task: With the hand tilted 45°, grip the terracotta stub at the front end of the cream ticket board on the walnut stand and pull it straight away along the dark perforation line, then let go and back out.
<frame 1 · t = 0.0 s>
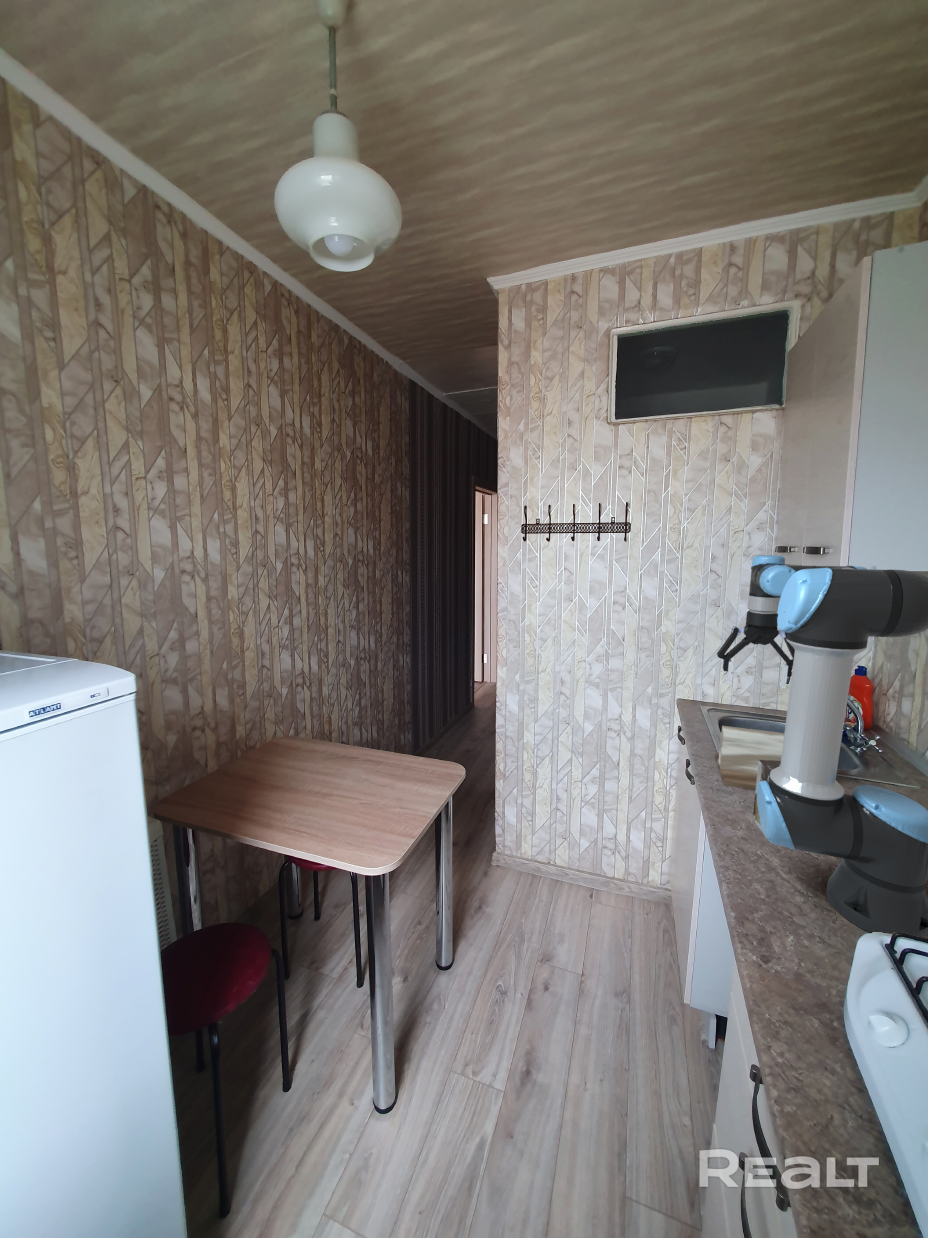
hand: (754, 684, 135), 28 cm above the worktop, tool pointing down, fingers open, 13 cm apart
coffee box: (773, 830, 114), on the worktop
ticket stand: (768, 777, 138), on the worktop
ticket stub: (802, 756, 134), point 8 cm above the worktop, slide at 0.0 cm
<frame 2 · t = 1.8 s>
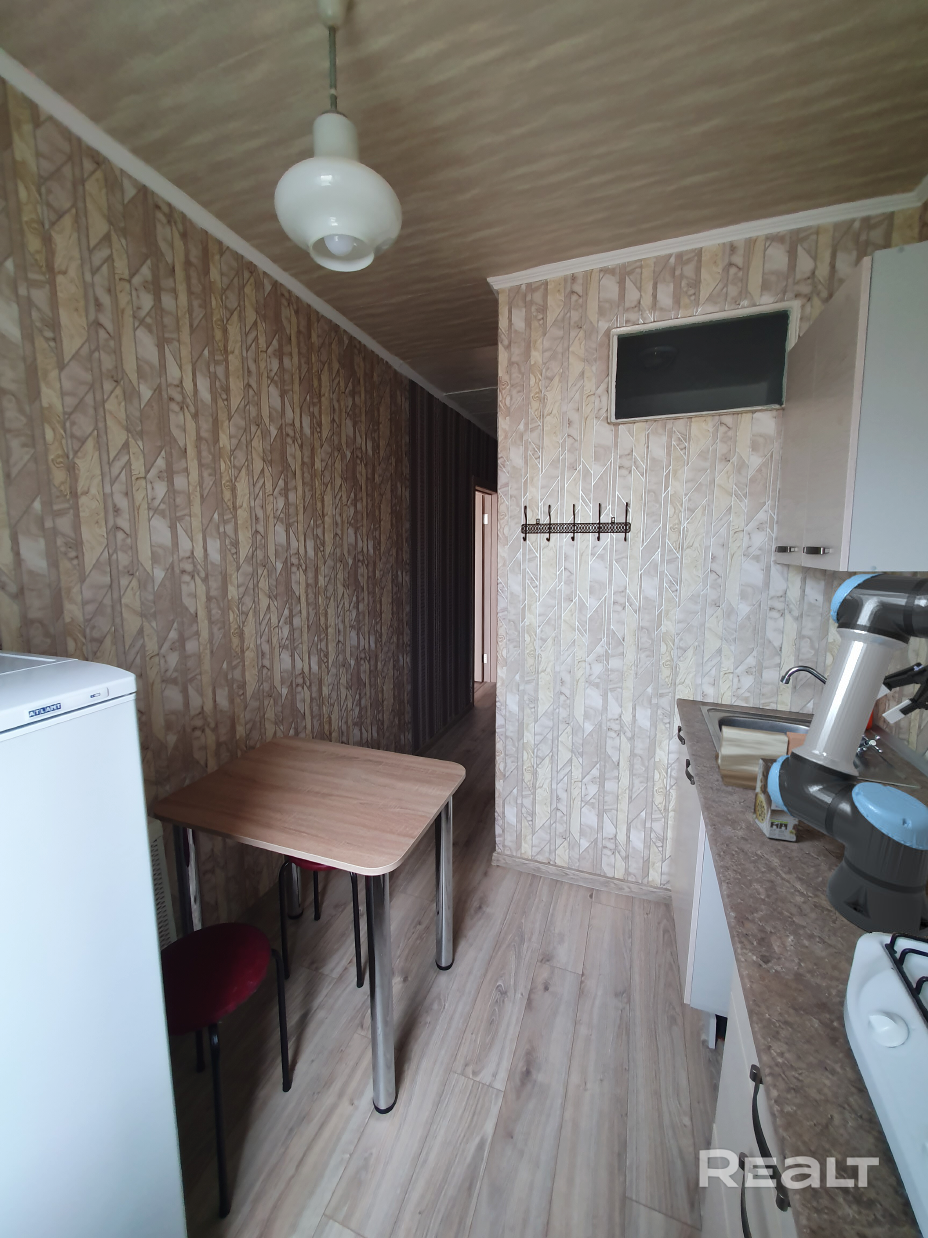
hand: (874, 710, 127), 24 cm above the worktop, tool tilted 45°, fingers open, 13 cm apart
coffee box: (773, 829, 114), on the worktop, touching arm
everything else where it was.
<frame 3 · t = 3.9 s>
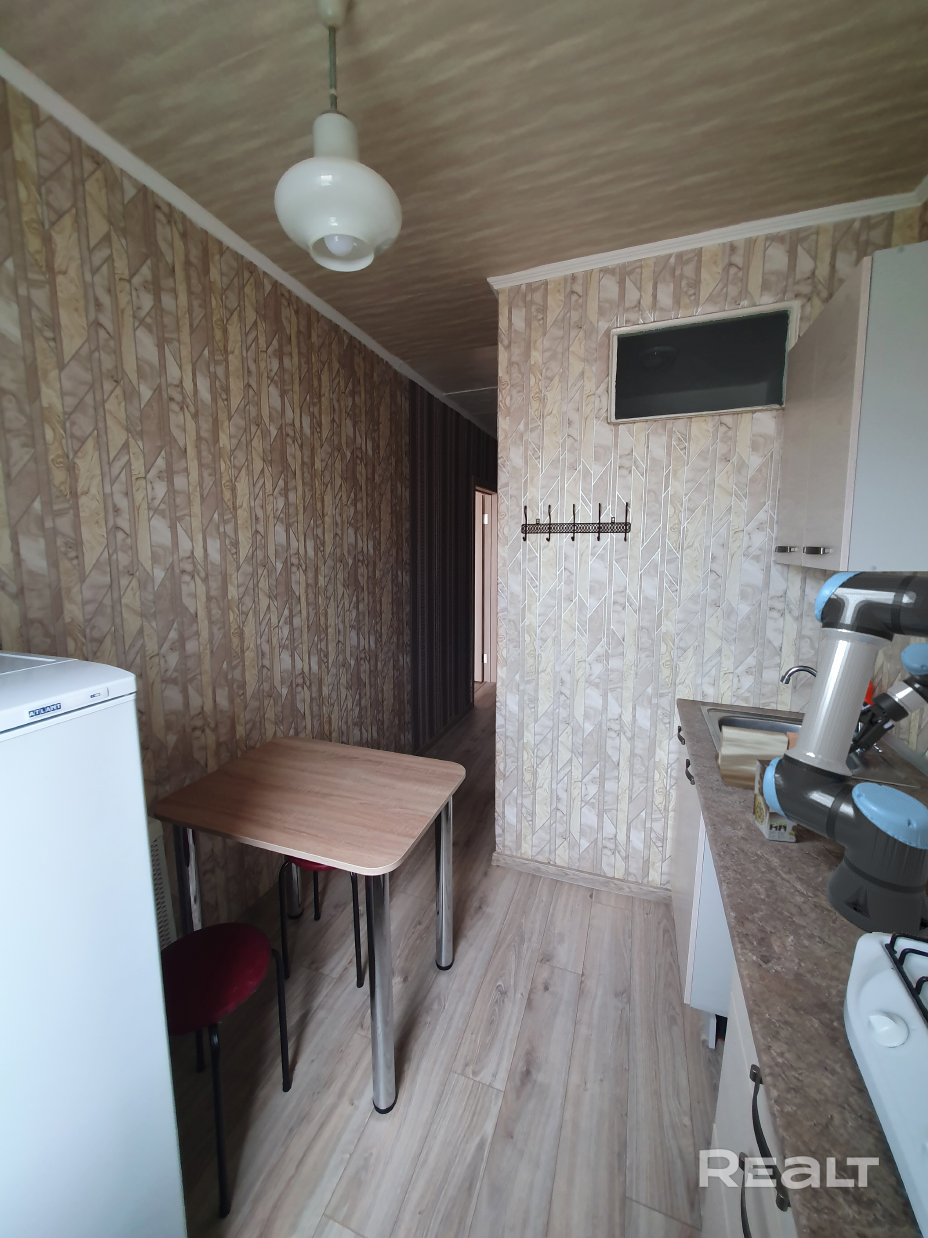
hand: (822, 747, 133), 11 cm above the worktop, tool tilted 45°, fingers open, 13 cm apart
coffee box: (773, 830, 114), on the worktop
everything else where it was.
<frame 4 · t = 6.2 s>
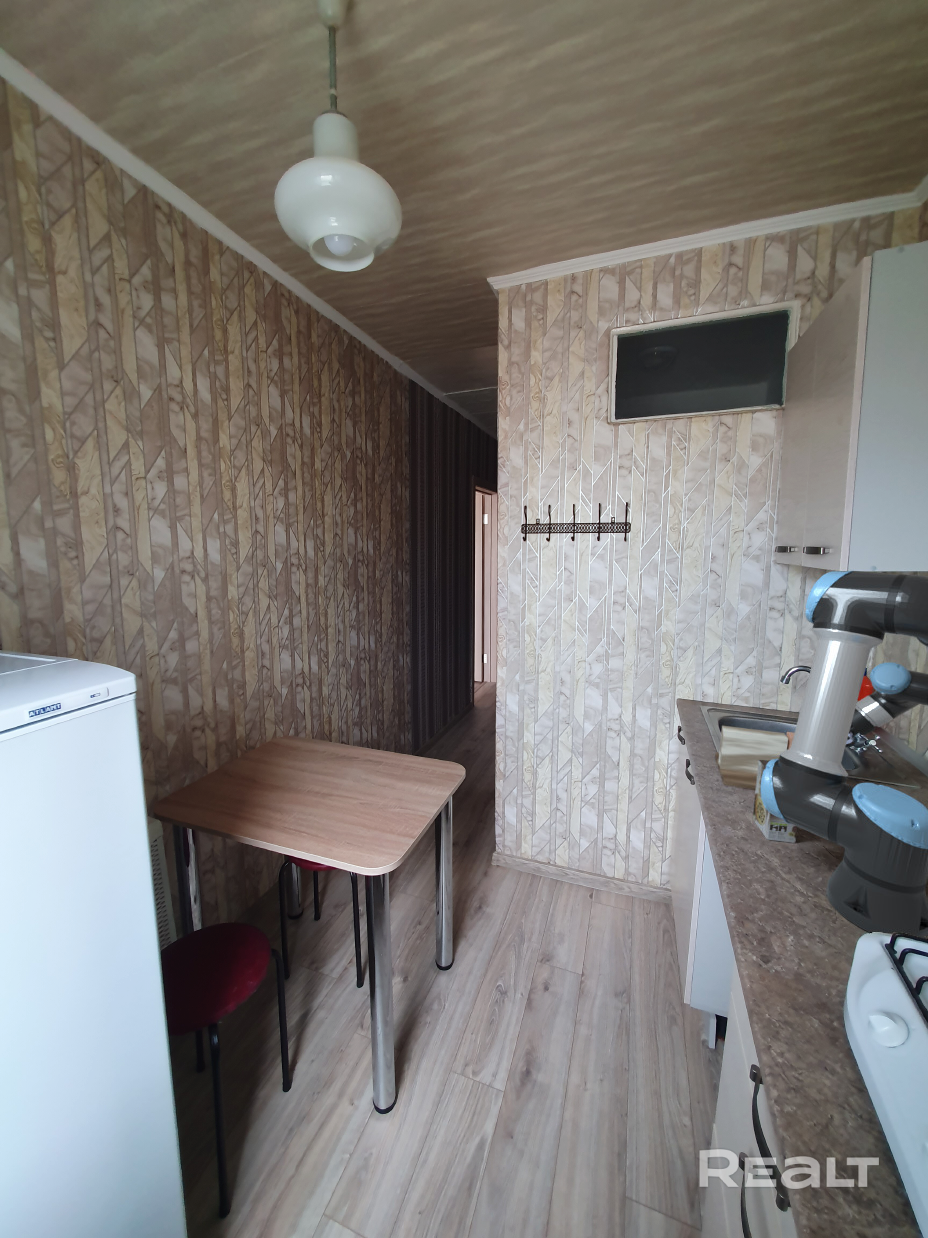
hand: (786, 763, 136), 5 cm above the worktop, tool tilted 45°, fingers closed on ticket stand, ticket stub, 4 cm apart
ticket stub: (802, 756, 134), point 8 cm above the worktop, slide at 0.0 cm, touching gripper
everything else where it was.
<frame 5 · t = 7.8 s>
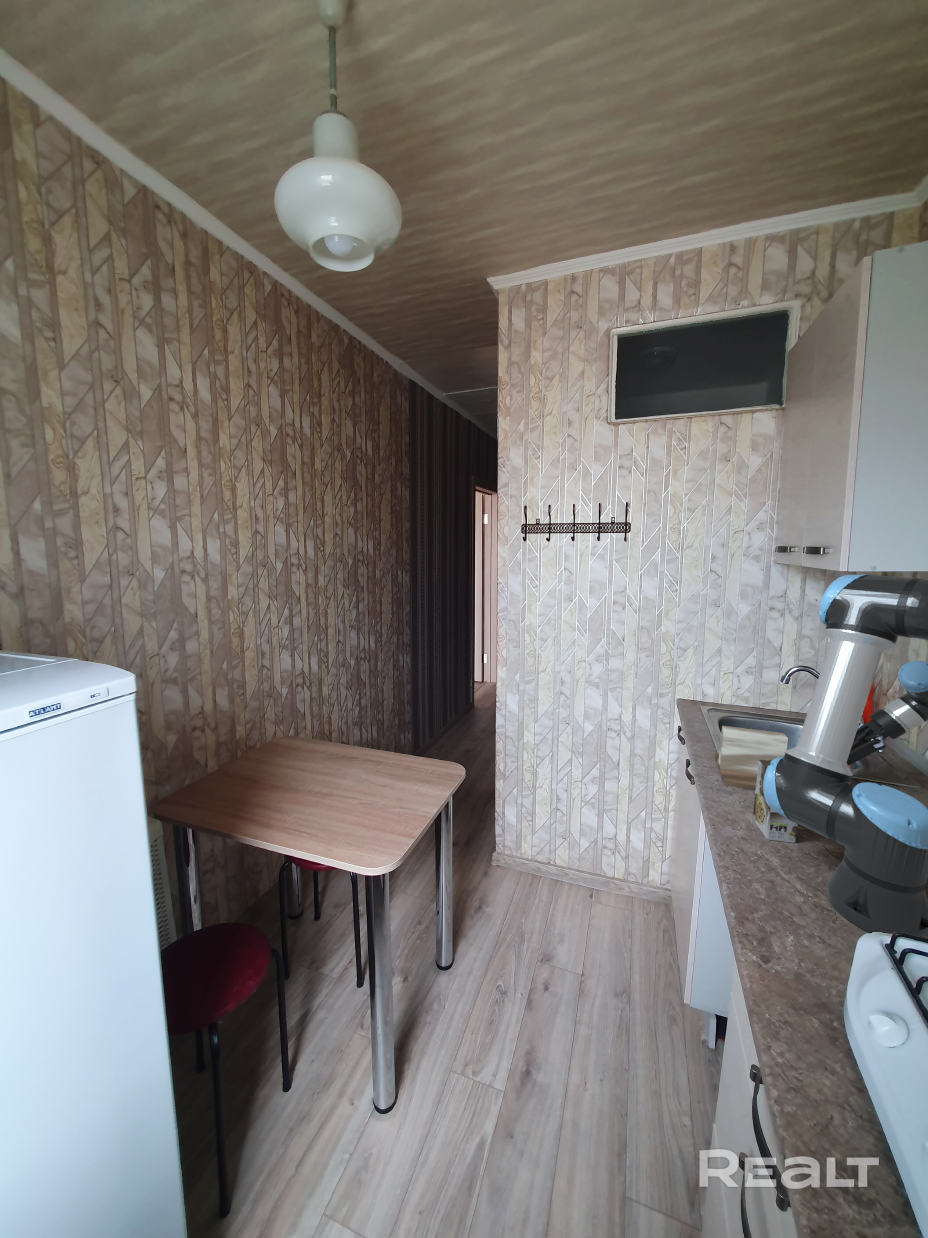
hand: (813, 767, 134), 5 cm above the worktop, tool tilted 45°, fingers closed on ticket stub, 4 cm apart
ticket stub: (830, 760, 132), point 8 cm above the worktop, slide at 6.6 cm, touching gripper
everything else where it was.
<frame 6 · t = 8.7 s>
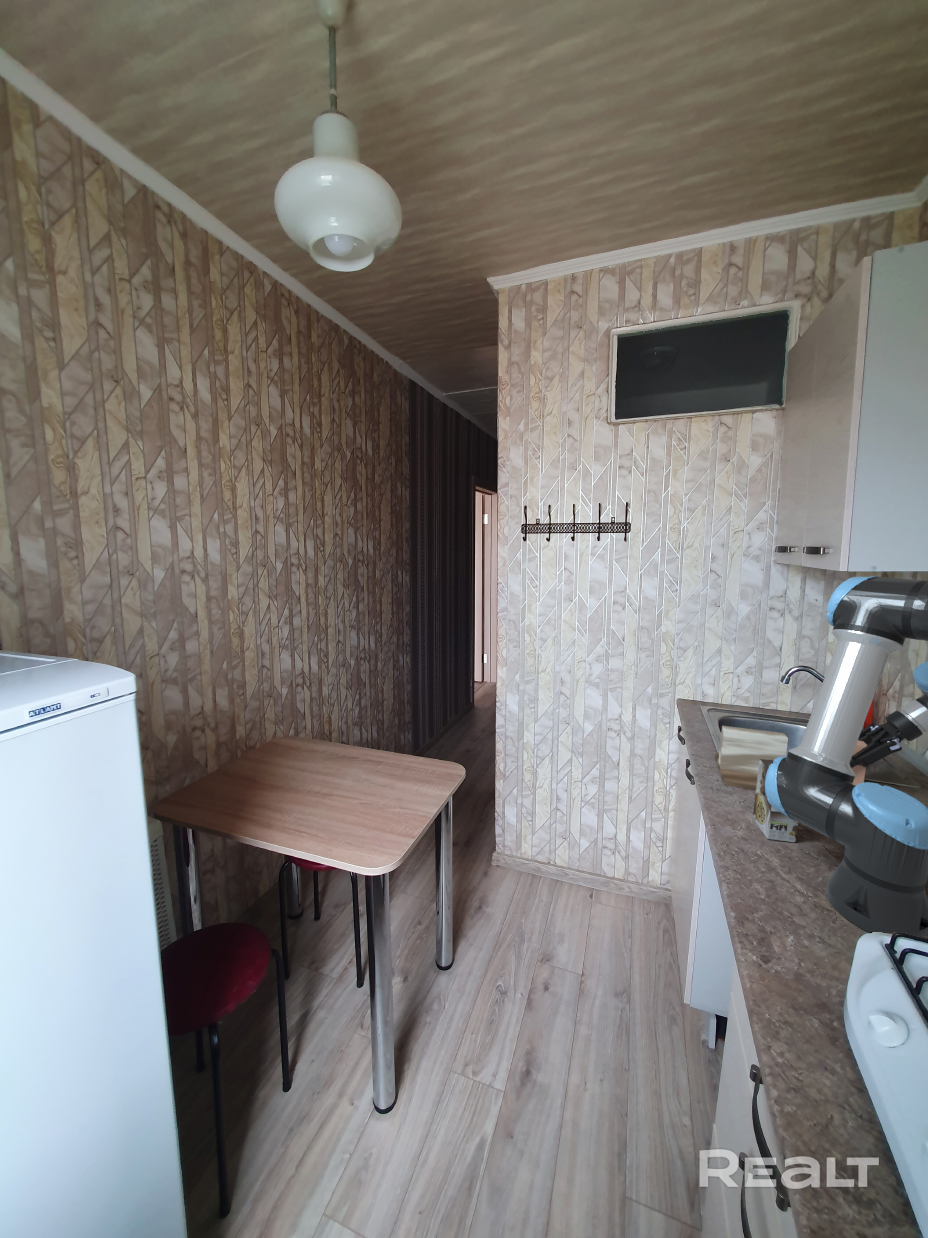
hand: (827, 769, 133), 5 cm above the worktop, tool tilted 45°, fingers closed on ticket stub, 4 cm apart
coffee box: (773, 830, 114), on the worktop, touching arm
ticket stub: (845, 762, 131), point 8 cm above the worktop, slide at 9.9 cm, touching gripper
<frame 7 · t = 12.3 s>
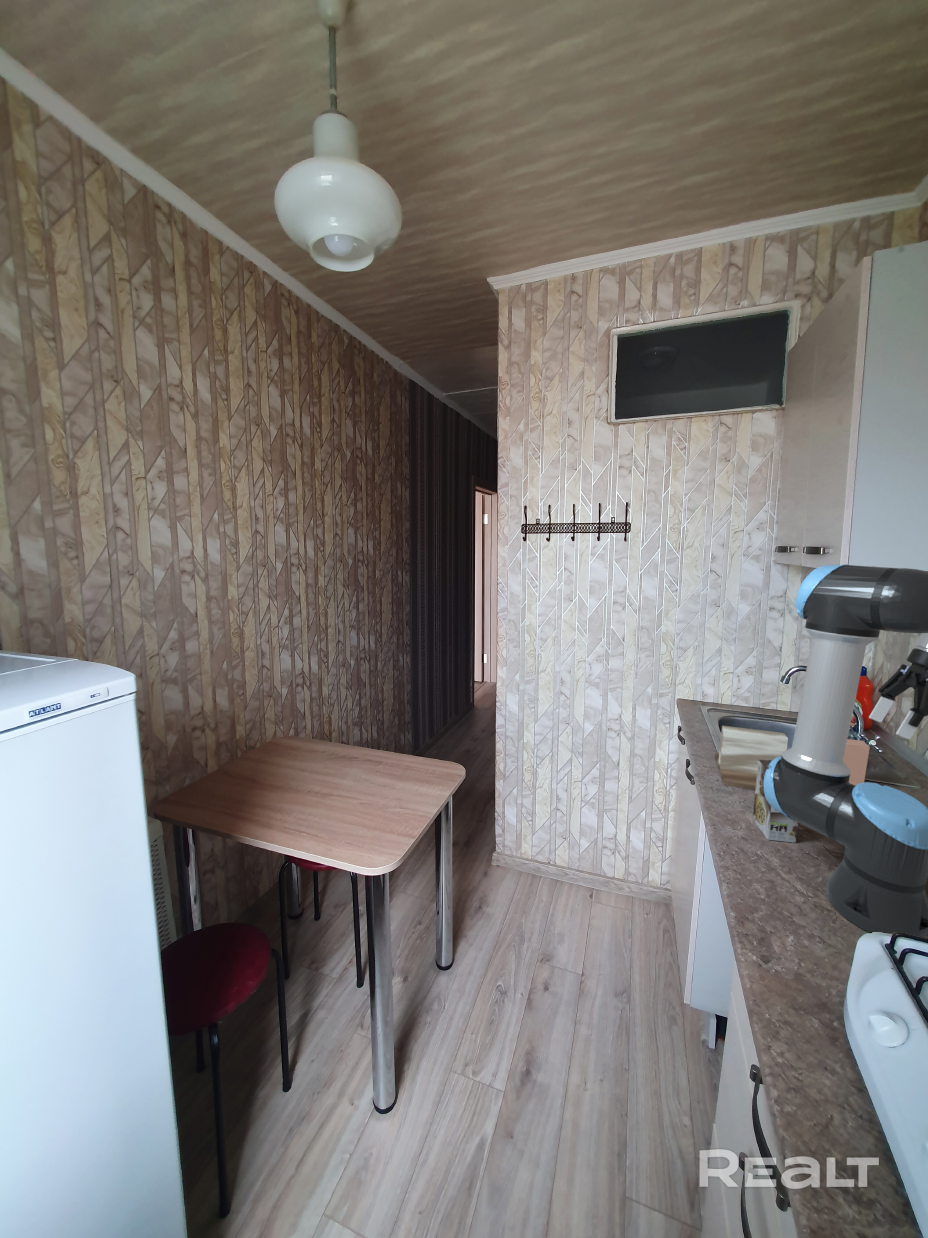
hand: (887, 728, 121), 21 cm above the worktop, tool tilted 20°, fingers open, 13 cm apart
coffee box: (773, 830, 114), on the worktop
ticket stub: (845, 762, 131), point 8 cm above the worktop, slide at 10.0 cm
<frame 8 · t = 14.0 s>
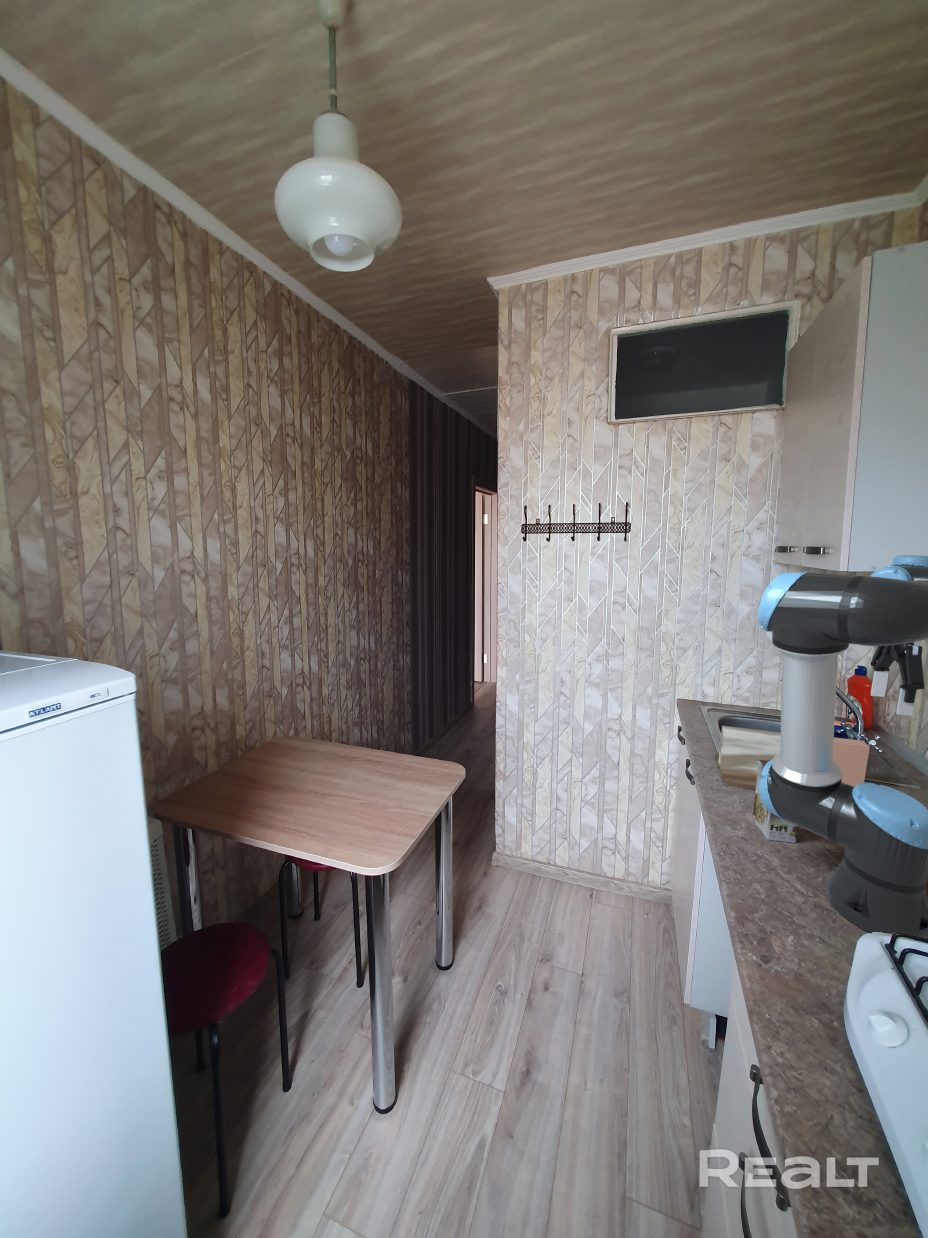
hand: (890, 705, 117), 29 cm above the worktop, tool pointing down, fingers open, 13 cm apart
nothing on the worktop moved.
at the end: ticket stub slide at 10.0 cm; the gripper is holding nothing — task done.
